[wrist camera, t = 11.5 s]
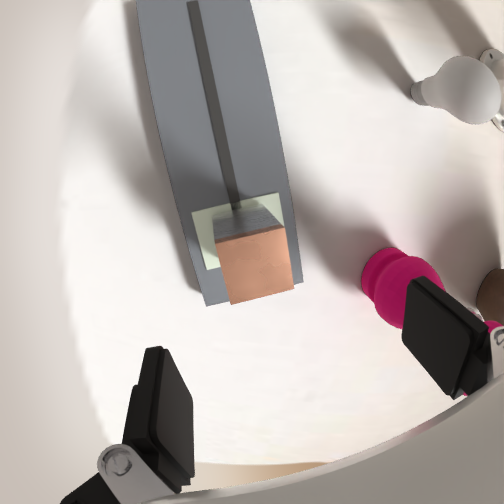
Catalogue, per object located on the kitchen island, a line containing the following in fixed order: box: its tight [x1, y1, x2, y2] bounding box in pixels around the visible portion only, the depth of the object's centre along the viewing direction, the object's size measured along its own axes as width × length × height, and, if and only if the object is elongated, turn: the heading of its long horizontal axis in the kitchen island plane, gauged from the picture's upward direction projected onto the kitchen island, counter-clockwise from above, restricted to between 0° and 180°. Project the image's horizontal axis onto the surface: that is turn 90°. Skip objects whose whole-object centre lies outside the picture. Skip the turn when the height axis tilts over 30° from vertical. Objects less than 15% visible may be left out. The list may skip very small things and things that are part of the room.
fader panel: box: [136, 0, 303, 306], centre depth 22 cm, size 9×28×2 cm, turn 11°
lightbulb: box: [411, 56, 501, 125], centre depth 18 cm, size 6×6×11 cm
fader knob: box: [212, 204, 294, 305], centre depth 20 cm, size 4×4×7 cm
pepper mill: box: [361, 248, 503, 396], centre depth 21 cm, size 7×7×20 cm
